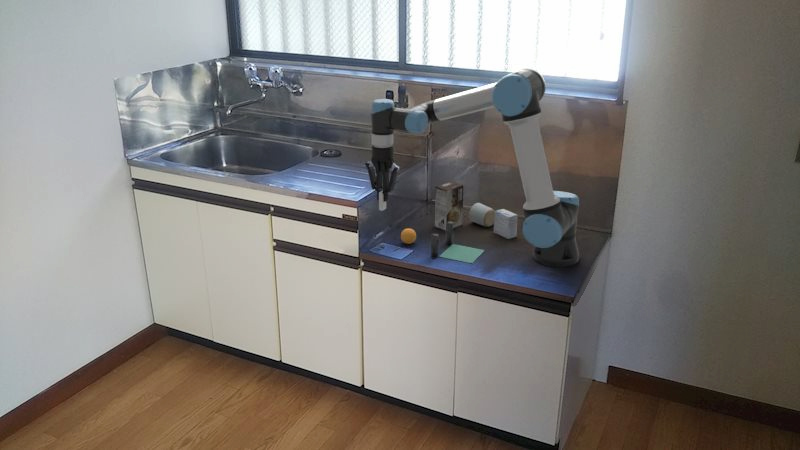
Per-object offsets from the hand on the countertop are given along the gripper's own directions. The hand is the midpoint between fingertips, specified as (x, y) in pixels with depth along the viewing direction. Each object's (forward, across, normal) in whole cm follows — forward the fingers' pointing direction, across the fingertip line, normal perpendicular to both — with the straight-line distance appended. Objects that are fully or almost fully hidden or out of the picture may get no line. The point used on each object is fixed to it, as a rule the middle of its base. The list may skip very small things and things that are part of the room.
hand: (382, 209), depth 242 cm
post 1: (+11, -24, +6) cm, 27 cm away
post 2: (+11, -23, -6) cm, 27 cm away
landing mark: (+11, -31, 0) cm, 33 cm away
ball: (+8, -10, 0) cm, 13 cm away
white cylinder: (+11, -28, -31) cm, 43 cm away
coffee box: (+11, -16, -22) cm, 30 cm away
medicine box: (+11, -38, -23) cm, 46 cm away
